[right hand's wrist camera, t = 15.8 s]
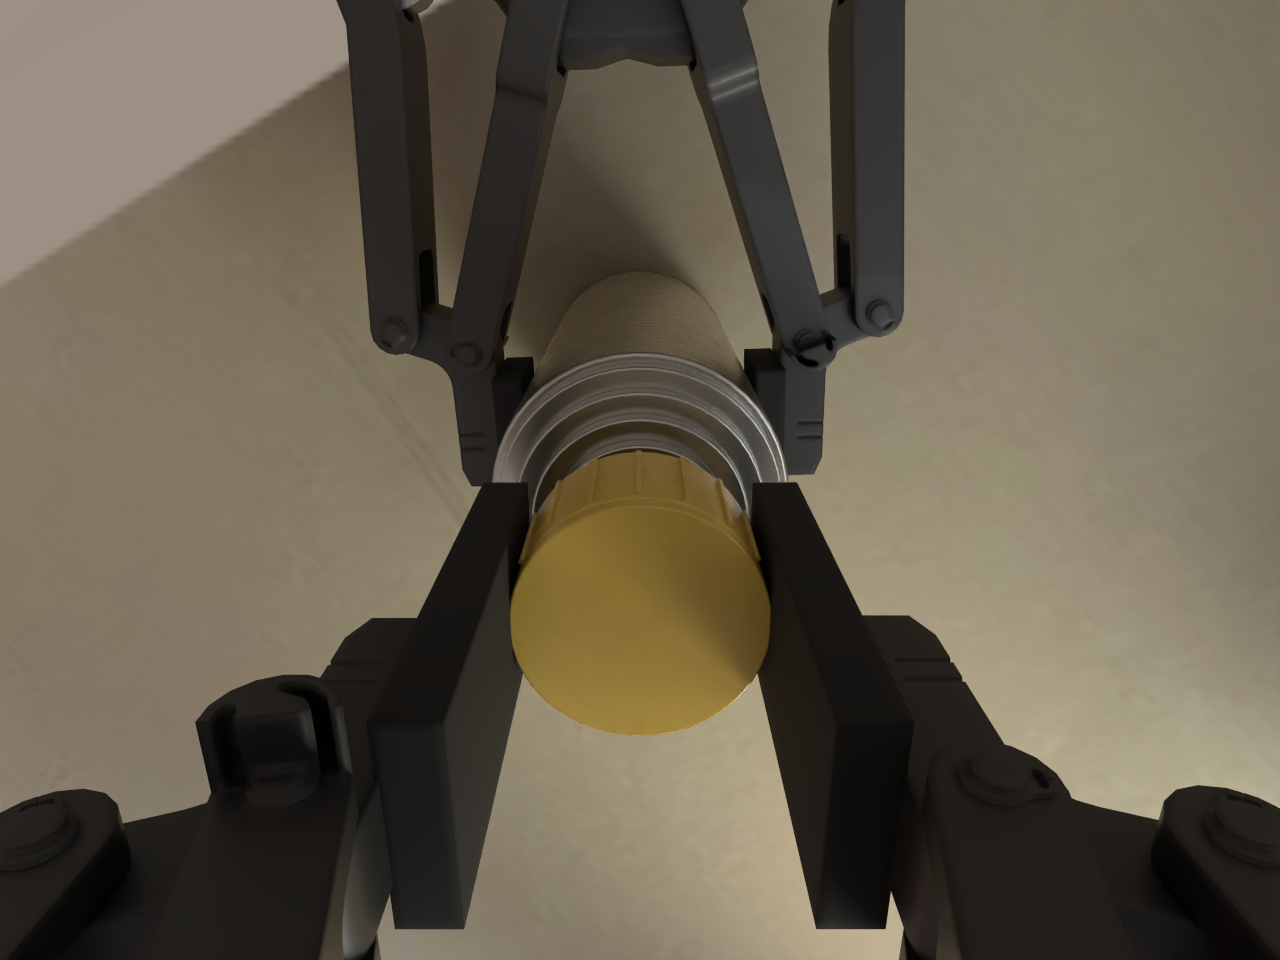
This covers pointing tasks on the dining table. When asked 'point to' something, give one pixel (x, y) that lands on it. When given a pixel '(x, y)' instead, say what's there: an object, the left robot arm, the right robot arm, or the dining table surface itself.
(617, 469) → the cap
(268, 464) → the dining table surface
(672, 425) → the bottle
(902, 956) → the right robot arm
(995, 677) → the dining table surface
